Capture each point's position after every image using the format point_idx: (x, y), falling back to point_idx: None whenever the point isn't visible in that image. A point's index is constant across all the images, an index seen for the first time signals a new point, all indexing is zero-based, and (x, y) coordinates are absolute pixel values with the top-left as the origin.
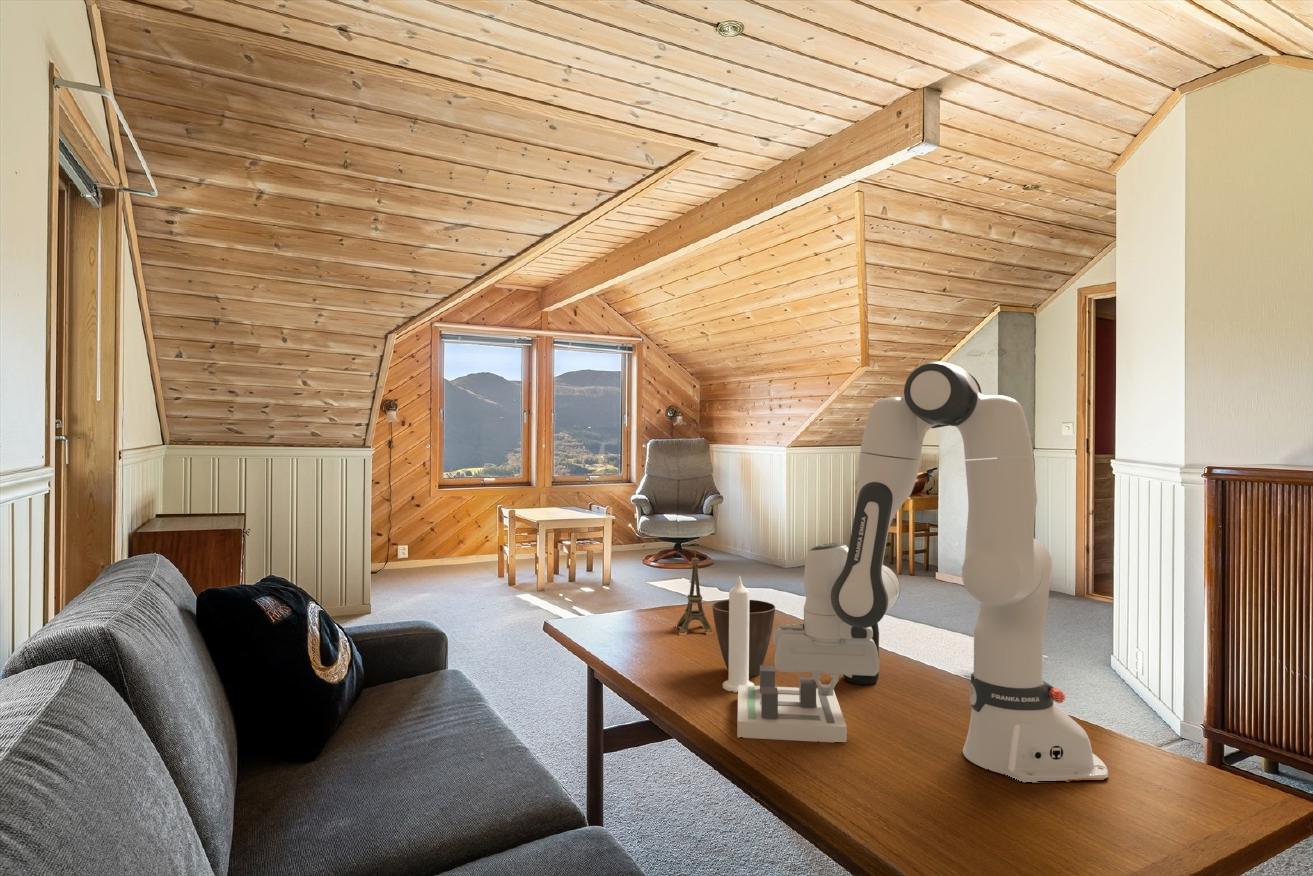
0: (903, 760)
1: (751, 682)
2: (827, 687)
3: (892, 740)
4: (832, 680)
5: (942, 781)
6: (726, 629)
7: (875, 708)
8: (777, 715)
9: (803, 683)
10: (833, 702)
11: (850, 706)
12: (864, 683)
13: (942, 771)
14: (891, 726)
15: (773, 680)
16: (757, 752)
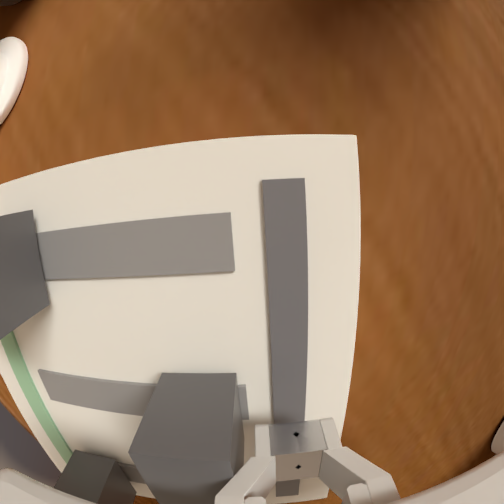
0: (405, 479)
1: (17, 47)
2: (305, 477)
3: (431, 420)
4: (345, 482)
5: None
6: None
7: (472, 185)
8: (134, 497)
9: None
10: (332, 350)
11: (400, 171)
12: None
13: (440, 479)
14: (469, 339)
15: (10, 327)
16: None
